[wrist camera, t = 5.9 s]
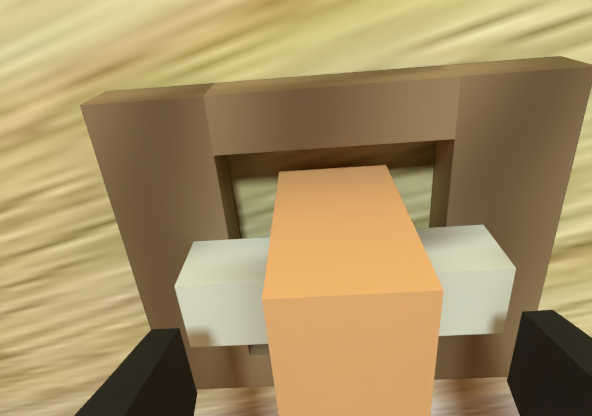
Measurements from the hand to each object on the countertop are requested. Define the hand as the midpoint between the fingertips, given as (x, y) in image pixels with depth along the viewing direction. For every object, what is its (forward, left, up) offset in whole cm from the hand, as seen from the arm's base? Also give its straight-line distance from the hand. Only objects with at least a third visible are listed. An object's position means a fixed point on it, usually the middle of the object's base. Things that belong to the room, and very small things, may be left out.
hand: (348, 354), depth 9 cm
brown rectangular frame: (0, 0, -5) cm, 5 cm away
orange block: (0, 0, -4) cm, 4 cm away
